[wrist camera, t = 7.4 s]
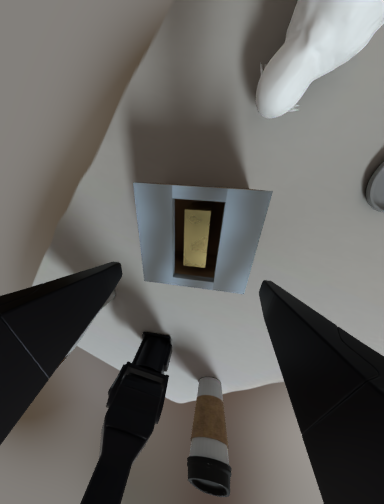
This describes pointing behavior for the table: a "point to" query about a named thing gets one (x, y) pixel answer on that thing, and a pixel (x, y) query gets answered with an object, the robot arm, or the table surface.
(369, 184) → the pocket watch
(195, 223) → the block
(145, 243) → the box
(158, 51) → the table surface
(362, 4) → the white animal skull
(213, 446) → the coffee cup
